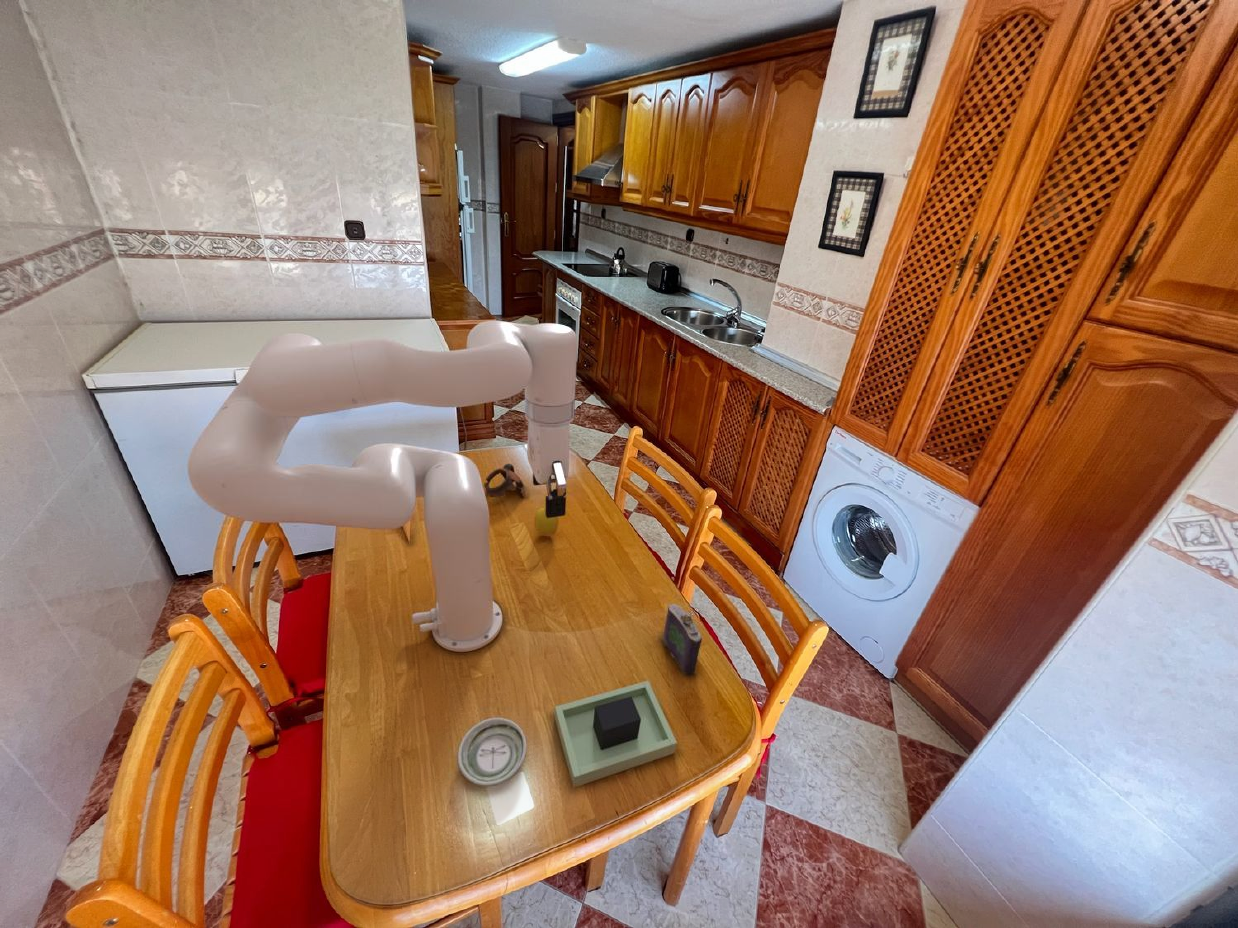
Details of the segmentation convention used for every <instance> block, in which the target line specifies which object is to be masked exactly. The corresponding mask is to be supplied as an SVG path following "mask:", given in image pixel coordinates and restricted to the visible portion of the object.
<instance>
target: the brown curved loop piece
mask: <svg viewBox="0 0 1238 928" xmlns="http://www.w3.org/2000/svg"><path fill="white" fill-rule="evenodd" d="M499 474H500V475H501V476H502V477H503V479H504V481H503V482H501V484H500V485H497V486H496V487H490V485H489V484H490V483H491V481H492V480H493V479H494V478H495V477H496V476H497V475H499ZM485 480H486V482H485V483H484V484H483V487H484V489H485V495H487V496H488V497H490V498H497V497H502V498H506V495H505V494H506V492H505V490H506V491H514V490H516V488H520V494H521V496H522V498H525V496H526V493H527V492H526V488H525V484H524V482H523V480H522V479H521V477H520V476H519V474H517V473H516V472H515V466H514V465H513V464H511V463H506V464H504V466H503V467H501V468H496V469H494V470H493V471H491V472H490V473H489V474H488V475H487V476H486V478H485ZM514 483H515V485H516V486H515V485H514Z"/></svg>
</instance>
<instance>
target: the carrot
mask: <svg viewBox="0 0 1238 928" xmlns="http://www.w3.org/2000/svg"><path fill="white" fill-rule="evenodd" d="M411 520H412V519H410V520H409V521H408V522H407V523H406V524H405V525H403V526H402V527H401V528H402V529H403V532H404V534H405V536H406V538H407V540H408V543H410V542H411V526H412V525H411V524H412V523H411Z"/></svg>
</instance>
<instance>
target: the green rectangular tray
mask: <svg viewBox="0 0 1238 928" xmlns="http://www.w3.org/2000/svg"><path fill="white" fill-rule="evenodd" d="M630 696H631V697H632V699H633V701H634V704H635V706H636V708H637V711H638V713H639V716H640V718H641V723H640V728H639V734H638V738H637V739H635V740H632V741H628V742H625V743H622V744H619V745H616V746H613V747H610V748H607V749H604V750H601V749H600V746H599V743H598V740H597V737H596V734H595V731H594V728H593V721H594V711H595V707H596V706H599V705H603V704H606V703H610V702H613V701H617V700H620V699H624V698H627V697H630ZM554 720H555V721H554V722H555V724H556V728H557V732H558V737H559V739H560V743H561V747H562V750H563V754H564V758H565V762H566V765H567V770H568V774H569V777H570V781H571V784H572V788H577V787H579V786H582V785H585V784H588V783H591V782H594V781H597V780H600V779H603V778H606V777H609V776H612V775H614V774H617V773H621V772H623V771H626V770H629V769H632V768H635V767H638V766H640V765H645V764H646V763H650V762H653V761H655V760H659V759H662V758H664V757H667V756H671V755H673V754H675V752H676V749H677V744H678V742H677V740H676V737H675V735H674V733H673V731H672V728H671V727H670V724H669V722H668V720H667V718H666V716H665V714H664V711H663V709H662V707H661V705H660V703H659V701H658V698H657V696H656V694H655V692H654V689H653V688H652V686H651V683H650V682H649V680H646V681H641V682H639V683H635V684H631V685H628V686H624V687H620V688H616V689H613V690H610V691H605V692H603V693H599V694H595V695H592V696H589V697H584V698H580V699H578V700H574V701H571V702H567V703H563V704H561V705H560V704H559V705H556V706H554Z"/></svg>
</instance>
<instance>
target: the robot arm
mask: <svg viewBox="0 0 1238 928" xmlns="http://www.w3.org/2000/svg"><path fill="white" fill-rule="evenodd" d="M577 357H578V336H577V334H576V332H575V331H574V330H573V329H572V328H571V327H569V326H566V325H563V324H560V323H551V322H549V323H548V322H544V323H536V324H524V323H516V322H510V321H503V320H485V321H482V322H480V323H478V324H476V325H475V326H474V327H473V328H472V329H471V330H470V331H469V333H468V335H467V338H466V348H463V349H455V350H453V349H452V350H440V351H439V350H438V351H437V350H423V349H417V348H415V347H414V348H413V347H410V346H407V345H405V344H403V343H400V342H399V341H396V340H394V339H392V338H388V337H383V336H374V337H366V338H359V339H351V340H347V341H346V340H345V341H338V342H330V343H323V342H322V341H320V340H319V339H317V338H316V337H313V336H312V335H311V336H310V335H308V334H304V333H297V332H288V333H283V334H279V335H276V336H275V337H272V338H271V339H270V340H268V341H267V342H266V343H265V344H264V345H263V346H262V348H261V349H260V351H259V352H258V353H257V355H256V356H255V357H254V359H253V360H252V362H251V364H250V366H249V367H248V370H247V372H246V373H245V374H244V376H243V377H242V378H241V379H240V381H239V383H238V384H237V385H236V387H234V389H233V391H232V392H231V393H230V395H229V396H228V397H227V398H226V400H225V401H224V402H223V404H222V405H221V406H220V408H219V409H218V411H217V412H216V413H215V414H214V416H213V418H212V419H211V420H210V422H209V423H208V425H207V426H206V427H205V428H204V430H203V431H202V432H201V434H199V435H200V436H199V437H198V439H197V440H196V441H195V443H194V445H193V447H192V449H191V450H190V454H189V458H188V462H187V475H188V478H189V482H190V485H191V487H192V489H193V490H194V492H195V493H196V495H197V496H198V497H199V498H200V499H201V500H202V501H203V502H204V503H205V504H206V505H208V506H209V507H210V508H212V509H214V510H215V511H217V512H218V513H220V514H223V515H225V516H226V517H230V518H233V519H236V520H240V521H245V522H252V523H263V524H264V523H266V524H308V525H309V524H312V525H322V526H331V527H343V528H354V529H355V528H357V529H368V530H384V531H385V530H395V529H399V528H403V527H402V526H403V525H405V524H406V523H407V522H408V521H409V520H412V517H413V515H414V513H415V509H416V502H417V501H416V499H417V498H422V499H423V515H424V516H423V517H424V527H425V533H426V538H427V543H428V548H429V549H428V550H429V554H430V555H429V556H430V561H431V566H432V567H431V568H432V574H433V581H434V582H433V583H434V586H435V587H434V588H435V594H436V595H435V597H436V603H435V606H436V607H434V608H431V609H430V610H429V611H425V612H423V611H421V612H415V613H412V624H413V626H415V625H418V624H419V628H420V629H419V631H420V633H425V632H426V633H427V632H430V631H431V633H432V636H433V639H434V640H435V642H436V643H437V644H438V645H439V646H440V647H441V648H443V649H446V650H448V651H452V652H456V653H457V652H459V653H462V652H463V653H464V652H471V651H475V650H478V649H481V648H483V647H485V646H486V645H488V644H490V643H491V642H492V641H493V640H494V639H495V638H496V637H497V636H498V635H499V633H500V631H501V629H502V626H503V613H502V610H501V607H500V606H499V605H498V604H497V603H496V602H495V601H494V598H493V596H494V595H493V585H492V584H493V582H492V567H491V551H490V550H491V549H490V524H491V523H490V521H491V520H490V511H489V506H488V505H489V504H488V500H487V497H486V491H485V487H484V485H483V482H482V477H481V473H480V471H479V468H478V466H477V465H476V464H475V462H474V461H473V460H472V459H470V457H467V456H465V455H463V454H460V453H458V452H457V453H456V452H452V451H447V450H441V449H436V448H435V449H434V448H430V447H429V448H428V447H421V446H416V445H409V444H403V443H396V442H395V443H394V442H384V443H377V444H374V445H370V446H367V447H366V448H364V449H362V450H360V452H359V453H358V454H357V455H356V456H355V457H354V460H353V461H352V463H351V467H347V466H346V467H345V466H337V465H336V466H335V465H329V464H323V463H306V464H305V463H304V464H298V465H293V466H281V465H280V464H279V463H278V462H279V461H278V459H279V457H280V455H281V453H282V450H283V448H284V446H285V444H286V441H287V439H288V436H289V435H290V433H291V431H292V430H293V429H294V428H295V426H296V425H297V423H298V422H299V421H300V419H301V418H305V417H312V416H317V415H325V414H329V413H336V412H340V411H348V410H353V409H360V408H365V407H372V406H379V405H383V404H391V403H404V404H408V405H412V406H413V405H414V406H422V407H423V406H424V407H431V408H434V407H435V408H464V407H471V406H477V405H481V404H488V403H493V402H498V401H502V400H505V399H509V398H512V397H514V396H516V395H517V394H519V393H520V392H522V391H523V390H524V417H525V420H527V421H528V422H527V443H526V444H527V448H526V454H527V455H526V456H527V461H528V463H529V467H530V469H531V472H532V485H533V486H543V485H545V486H546V491H547V495H545V507H546V511H545V515H546V517H547V518H552V517H558V518H559V517H564V516H565V515H566V512H567V511H566V507H567V480H568V479H569V471H570V427H569V425H570V423H572V422H573V421H574V419H575V404H576V383H577V382H576V381H577ZM552 476H553V477H554V478H552ZM552 484H555V488H554V489H552ZM426 622H428V623H426Z"/></svg>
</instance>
